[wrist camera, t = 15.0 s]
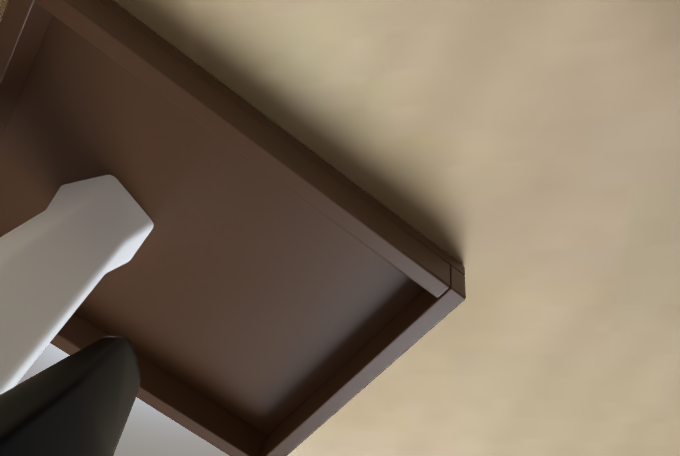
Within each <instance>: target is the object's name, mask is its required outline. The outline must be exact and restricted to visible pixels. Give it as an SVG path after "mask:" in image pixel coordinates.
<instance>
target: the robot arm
mask: <svg viewBox="0 0 680 456" xmlns="http://www.w3.org/2000/svg"><path fill="white" fill-rule="evenodd" d="M140 383H141V374H140V370H139V366H138V363H137V359H136V356H135V352H134V349H133V345H132V343H131V341H130V340H129V339H128V338H126V337H117V336H105V337H102V338H100V339H98V340H97V341H95V342H93V343H91V344H90V345H88V346H86V347H84V348H82V349H81V350H79V351H77V352H75V353H74V354H72V355H70V356H68V357H66V358H65V359H63V360H61V361H59V362H58V363H56V364H54V365H52V366H51V367H49V368H47V369H45V370H43V371H42V372H40V373H38V374H36V375H35V376H33V377H31V378H29V379H27V380H26V381H24V382H22V383H20V384H18V385H17V386H15V387H13V388H11V389H10V390H8V391H6V392H4V393H2V394H1V395H0V456H113V455H114V452H115V450H116V447H117V445H118V442H119V439H120V436H121V434H122V432H123V429H124V426H125V424H126V421H127V418H128V416H129V413H130V411H131V408H132V406H133V403H134V401H135V398H136V395H137V393H138V390H139V387H140Z"/></svg>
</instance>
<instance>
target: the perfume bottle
mask: <svg viewBox="0 0 680 456" xmlns="http://www.w3.org/2000/svg"><path fill="white" fill-rule="evenodd" d="M153 226H154V225H153V222H152V220H151V219H150V218H149V216H148V215H147V214H146V213H145V212H144V210H143V209H142V208H141V207H140V206H139V204H138V203H137V202H136V201H135V200H134V199H133V197H132V196H131V195H130V194H129V193H128V191H127V190H126V189H125V188H124V187H123V185H122V184H121V183H120V182H119V181H118V180H117V179H116V178H115V177H114V176H112V175H104V176H99V177H95V178H91V179H86V180H82V181H77V182H73V183H69V184H64V185H62V186H61V187H60V188H59V190H58V191H57V193H56V195H55V196H54V198H53V199H52V201H51V203H50V204H49V206H48V207H47V209H46V210H45V211H43V212H42V213H40V214H38V215H37V216H35V217H33V218H32V219H30V220H28V221H27V222H25V223H23V224H22V225H20V226H18V227H17V228H15V229H13V230H12V231H10V232H8V233H7V234H5V235H3V236H2V237H0V395H1V394H2V393H4V392H6V391H8V390H10V389H11V388H13V387H15V385H16V384H17V383H18V382H19V380H20V379H21V378H22V377H23V375H24V374H25V373H26V372H27V370H28V369H29V368H30V367H31V365H32V364H33V363H34V362H35V360H36V359H37V358H38V357H39V356H40V354H41V353H42V352H43V351H44V349H45V348H46V347H47V345H48V344H49V343H50V342H51V341H52V339H53V338H54V337H55V336H56V334H57V333H58V332H59V331H60V329H61V328H62V327H63V326H64V325H65V323H66V322H67V321H68V320H69V318H70V317H71V316H72V315H73V313H74V312H75V311H76V310H77V308H78V307H79V306H80V305H81V303H82V302H83V301H84V300H85V298H86V297H87V296H88V295H89V293H90V292H91V291H92V290H93V288H94V287H95V286H96V285H97V284H98V282H99V281H100V280H101V279H102V277H103V276H104V275H105V274H106V273H108V272H110V271H112V270H114V269H115V268H117V267H119V266H121V265H123V264H125V263H127V262H129V261H130V260H131V258H132V257H133V256H134V254H135V253H136V251H137V250H138V249H139V247H140V246H141V244H142V243H143V242H144V240H145V239H146V237H147V236H148V235H149V233H150V232H151V230H152V229H153Z"/></svg>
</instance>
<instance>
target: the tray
mask: <svg viewBox="0 0 680 456" xmlns="http://www.w3.org/2000/svg"><path fill="white" fill-rule="evenodd" d="M104 175H112V176H114V177H115V178H116V179H117V180H118V181H119V182H120V183H121V184H122V185H123V187H124V188H125V189H126V190H127V191H128V193H129V194H130V195H131V196H132V197H133V199H134V200H135V201H136V202H137V203H138V204H139V206H140V207H141V208H142V209H143V210H144V212H145V213H146V214H147V215H148V216H149V218H150V219H151V220H152V222H153V225H154V226H153V229H152V230H151V232H150V233H149V235H148V236H147V237H146V239H145V240H144V242H143V243H142V244H141V246H140V247H139V249H138V250H137V251H136V253H135V254H134V256H133V257H132V258H131V260H130V261H129V262H127V263H125V264H123V265H121V266H119V267H117V268H115V269H114V270H112V271H110V272H108V273H106V274H105V275H104V276H103V277H102V279H101V280H100V281H99V282H98V284H97V285H96V286H95V287H94V288H93V290H92V291H91V292H90V293H89V295H88V296H87V297H86V298H85V300H84V301H83V302H82V303H81V305H80V306H79V307H78V308H77V310H76V311H75V312H74V313H73V315H72V316H71V317H70V318H69V320H68V321H67V322H66V323H65V325H64V326H63V327H62V328H61V329H60V331H59V332H58V333H57V334H56V336H55V337H54V338H53V339H52V341H51V342H50V343H51V344H53V345H55V346H56V347H58V348H59V349H61V350H62V351H64V352H66V353H67V354H69V355H72V354H74V353H75V352H77V351H79V350H81V349H82V348H84V347H86V346H88V345H90V344H91V343H93V342H95V341H97V340H98V339H100V338H102V337H105V336H117V337H126V338H128V339H129V340H130V341H131V343H132V345H133V349H134V352H135V356H136V359H137V363H138V366H139V370H140V374H141V383H140V387H139V390H138V393H137V395H136V397H137V398H139V399H141V400H142V401H144V402H145V403H147V404H148V405H150V406H152V407H153V408H155V409H156V410H158V411H160V412H161V413H163V414H164V415H166V416H167V417H169V418H171V419H172V420H174V421H175V422H177V423H179V424H180V425H182V426H183V427H185V428H187V429H188V430H190V431H191V432H193V433H195V434H196V435H198V436H199V437H201V438H202V439H204V440H206V441H207V442H209V443H210V444H212V445H214V446H215V447H217V448H219V449H220V450H222V451H223V452H225V453H226V454H228V455H230V456H287V455H288V454H289V453H291V452H292V451H293V450H294V449H295V448H296V447H297V446H298V445H300V444H301V443H302V442H303V441H304V440H305V439H306V438H308V437H309V436H310V435H311V434H312V433H313V432H314V431H316V430H317V429H318V428H319V427H320V426H321V425H322V424H324V423H325V422H326V421H327V420H328V419H329V418H330V417H331V416H333V415H334V414H335V413H336V412H337V411H338V410H339V409H341V408H342V407H343V406H344V405H345V404H346V403H347V402H349V401H350V400H351V399H352V398H353V397H354V396H355V395H357V394H358V393H359V392H360V391H361V390H362V389H363V388H364V387H366V386H367V385H368V384H369V383H370V382H371V381H372V380H374V379H375V378H376V377H377V376H378V375H379V374H380V373H382V372H383V371H384V370H385V369H386V368H387V367H388V366H390V365H391V364H392V363H393V362H394V361H395V360H396V359H398V358H399V357H400V356H401V355H402V354H403V353H404V352H405V351H407V350H408V349H409V348H410V347H411V346H412V345H413V344H415V343H416V342H417V341H418V340H419V339H420V338H421V337H423V336H424V335H425V334H426V333H427V332H428V331H429V330H431V329H432V328H433V327H434V326H435V325H436V324H437V323H438V322H440V321H441V320H442V319H443V318H444V317H445V316H446V315H448V314H449V313H450V312H451V311H452V310H453V309H454V308H456V307H457V306H458V305H459V304H460V303H461V302H462V301H464V300H465V298H466V295H465V276H464V275H465V269H464V266H462V265H461V264H460V263H458V262H457V261H456V260H454V259H453V258H452V257H450V256H449V255H448V254H446V253H445V252H444V251H443V250H441V249H440V248H439V247H437V246H436V245H435V244H433V243H432V242H431V241H429V240H428V239H427V238H425V237H424V236H423V235H421V234H420V233H419V232H417V231H416V230H415V229H413V228H412V227H411V226H410V225H408V224H407V223H406V222H404V221H403V220H402V219H400V218H399V217H398V216H396V215H395V214H394V213H392V212H391V211H390V210H388V209H387V208H386V207H384V206H383V205H382V204H380V203H379V202H378V201H376V200H375V199H374V198H373V197H371V196H370V195H369V194H367V193H366V192H365V191H363V190H362V189H361V188H359V187H358V186H357V185H355V184H354V183H353V182H351V181H350V180H349V179H347V178H346V177H345V176H343V175H342V174H341V173H340V172H338V171H337V170H336V169H334V168H333V167H332V166H330V165H329V164H328V163H326V162H325V161H324V160H322V159H321V158H320V157H318V156H317V155H316V154H314V153H313V152H312V151H310V150H309V149H308V148H307V147H305V146H304V145H303V144H301V143H300V142H299V141H297V140H296V139H295V138H293V137H292V136H291V135H289V134H288V133H287V132H285V131H284V130H283V129H281V128H280V127H279V126H277V125H276V124H275V123H273V122H272V121H271V120H270V119H268V118H267V117H266V116H264V115H263V114H262V113H260V112H259V111H258V110H256V109H255V108H254V107H252V106H251V105H250V104H248V103H247V102H246V101H244V100H243V99H242V98H240V97H239V96H238V95H237V94H235V93H234V92H233V91H231V90H230V89H229V88H227V87H226V86H225V85H223V84H222V83H221V82H219V81H218V80H217V79H215V78H214V77H213V76H211V75H210V74H209V73H207V72H206V71H205V70H204V69H202V68H201V67H200V66H198V65H197V64H196V63H194V62H193V61H192V60H190V59H189V58H188V57H186V56H185V55H184V54H182V53H181V52H180V51H178V50H177V49H176V48H174V47H173V46H172V45H171V44H169V43H168V42H167V41H165V40H164V39H163V38H161V37H160V36H159V35H157V34H156V33H155V32H153V31H152V30H151V29H149V28H148V27H147V26H145V25H144V24H143V23H141V22H140V21H139V20H137V19H136V18H135V17H134V16H132V15H131V14H130V13H128V12H127V11H126V10H124V9H123V8H122V7H120V6H119V5H118V4H116V3H115V2H114V1H112V0H9V1H8V4H7V7H6V9H5V12H4V15H3V17H2V20H1V23H0V237H2V236H3V235H5V234H7V233H8V232H10V231H12V230H13V229H15V228H17V227H18V226H20V225H22V224H23V223H25V222H27V221H28V220H30V219H32V218H33V217H35V216H37V215H38V214H40V213H42V212H43V211H45V210H46V209H47V207H48V206H49V204H50V203H51V201H52V199H53V198H54V196H55V195H56V193H57V191H58V190H59V188H60V187H61V186H62V185H64V184H69V183H73V182H77V181H82V180H86V179H91V178H95V177H99V176H104Z"/></svg>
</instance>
